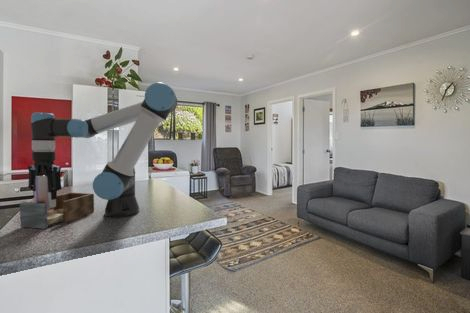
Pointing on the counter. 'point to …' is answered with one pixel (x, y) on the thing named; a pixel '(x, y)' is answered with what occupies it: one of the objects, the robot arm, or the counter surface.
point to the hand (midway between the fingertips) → (45, 206)
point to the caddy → (75, 205)
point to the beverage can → (42, 190)
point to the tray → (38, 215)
